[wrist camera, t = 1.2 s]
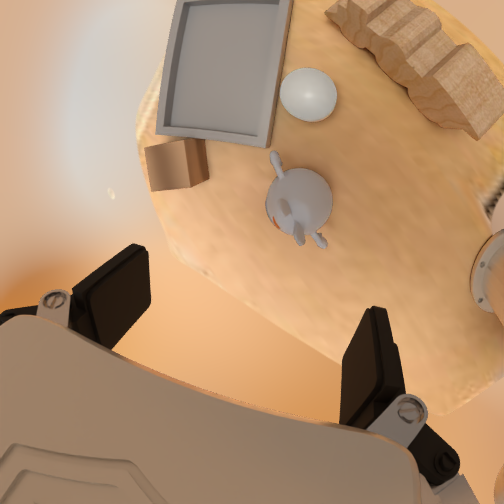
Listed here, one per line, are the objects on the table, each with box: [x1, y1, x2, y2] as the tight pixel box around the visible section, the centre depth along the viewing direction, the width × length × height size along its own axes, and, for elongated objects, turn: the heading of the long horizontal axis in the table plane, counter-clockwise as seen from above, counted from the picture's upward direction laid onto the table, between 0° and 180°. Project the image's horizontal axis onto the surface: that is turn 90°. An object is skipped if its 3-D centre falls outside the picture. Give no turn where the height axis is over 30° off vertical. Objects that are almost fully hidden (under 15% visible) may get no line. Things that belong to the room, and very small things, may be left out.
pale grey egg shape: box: [280, 68, 337, 122], centre depth 23 cm, size 5×5×5 cm
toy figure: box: [265, 151, 333, 249], centre depth 25 cm, size 11×6×12 cm, turn 32°
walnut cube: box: [144, 138, 209, 192], centre depth 30 cm, size 5×5×5 cm
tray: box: [156, 0, 293, 148], centre depth 25 cm, size 13×18×2 cm
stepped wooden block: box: [324, 0, 504, 141], centre depth 16 cm, size 6×17×10 cm, turn 48°
